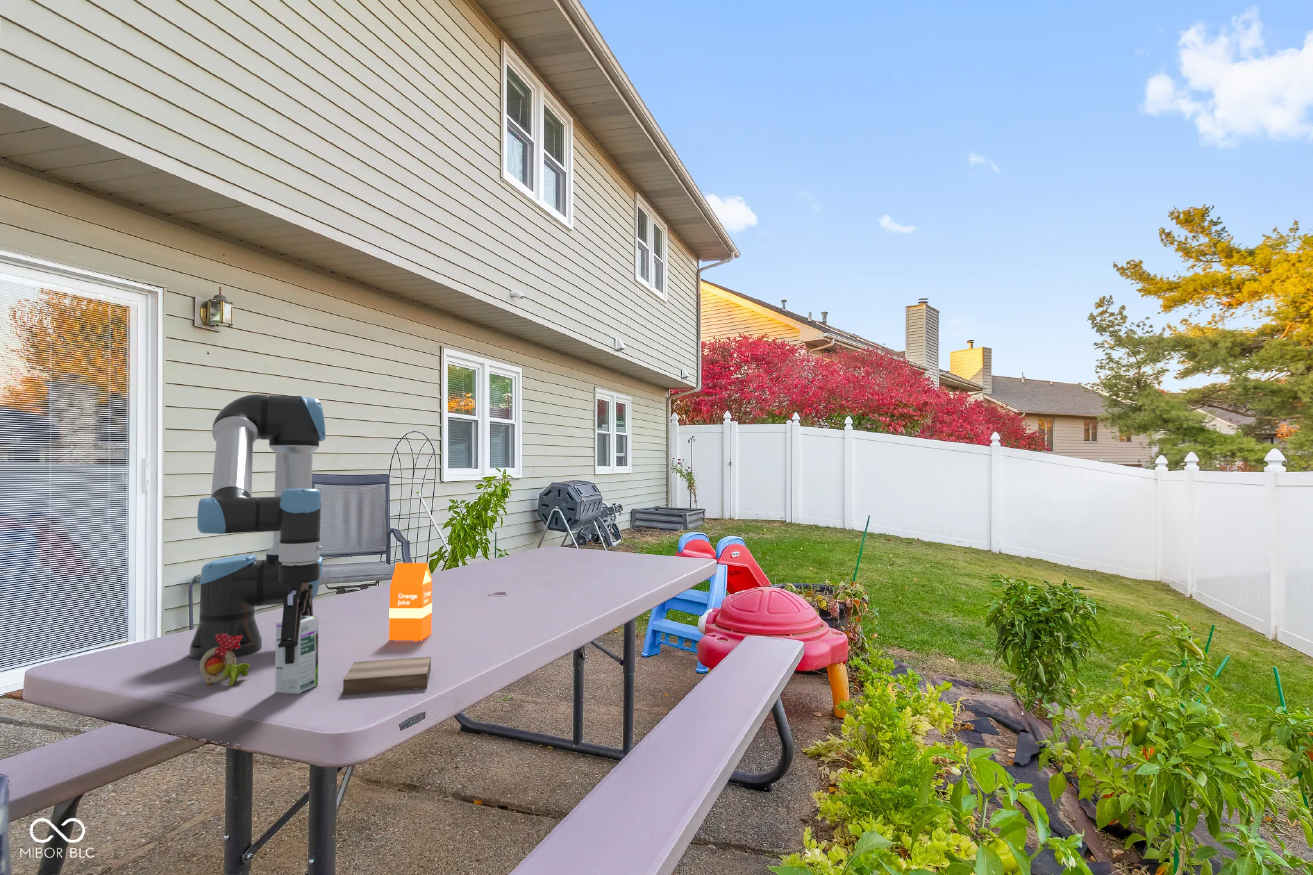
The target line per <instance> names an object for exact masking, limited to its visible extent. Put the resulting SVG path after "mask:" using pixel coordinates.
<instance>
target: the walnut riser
mask: <svg viewBox="0 0 1313 875" xmlns="http://www.w3.org/2000/svg"><path fill="white" fill-rule="evenodd" d="M431 662H432V657H431V656H420V657H405V658H403V657H402V658H393V659H392V658H391V659H389V658H388V659H379V660H375V659H374V660H364V661H354V662H352V665H351V667H350V668H349V670H348V672H347V673H346V674H345V677H344V678H343V680H342V682H343V684H342V695H343V696H346V695H347V696H348V695H358V694H359V695H360V694H361V695H362V694H368V693H369V694H370V693H371V694H373V693H380V692H381V693H384V692H394V691H395V692H396V691H407V690H416V689H415V688H421V689H427V688H428V684H429V680H430V674H431V670H432V669H431V665H432V663H431Z"/></svg>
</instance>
